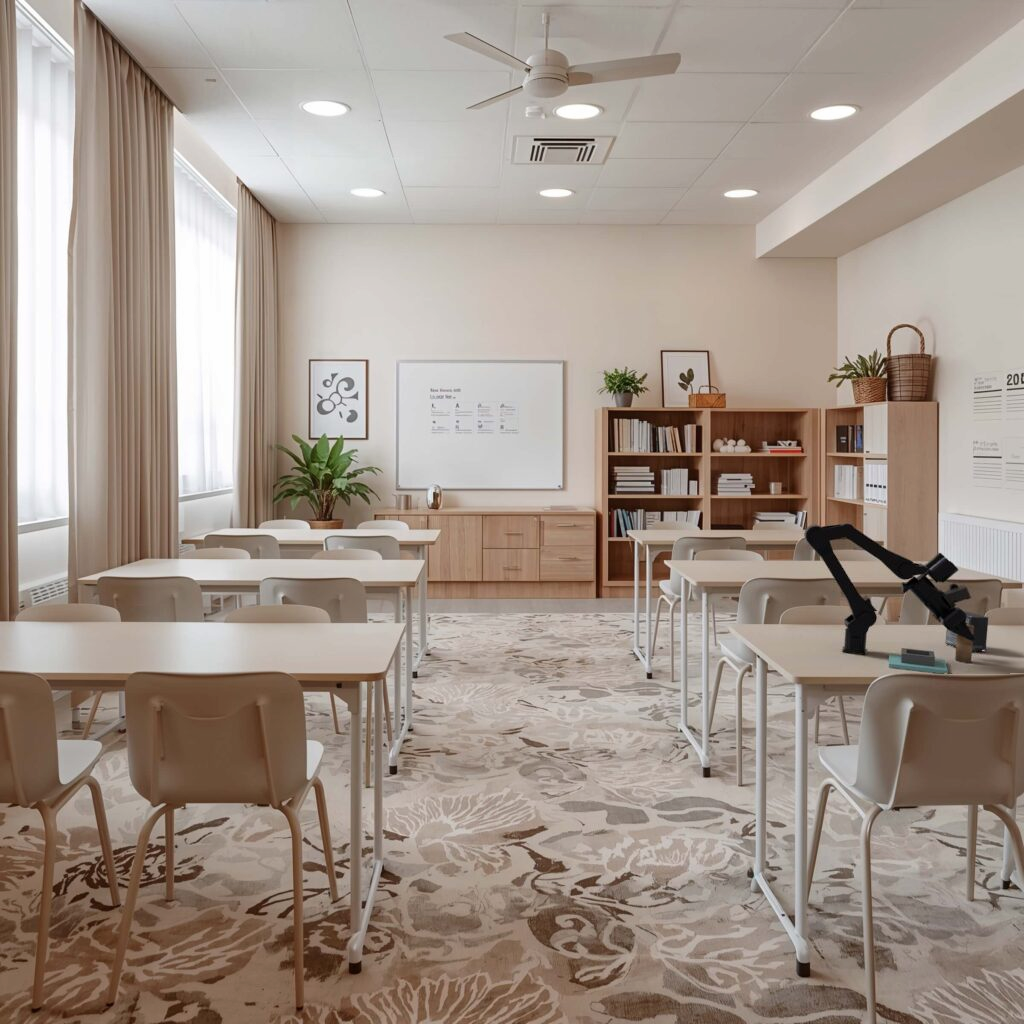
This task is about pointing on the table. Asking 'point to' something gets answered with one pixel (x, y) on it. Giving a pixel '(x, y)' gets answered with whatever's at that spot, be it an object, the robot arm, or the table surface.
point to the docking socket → (917, 661)
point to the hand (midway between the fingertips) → (969, 636)
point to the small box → (978, 633)
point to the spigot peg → (964, 647)
